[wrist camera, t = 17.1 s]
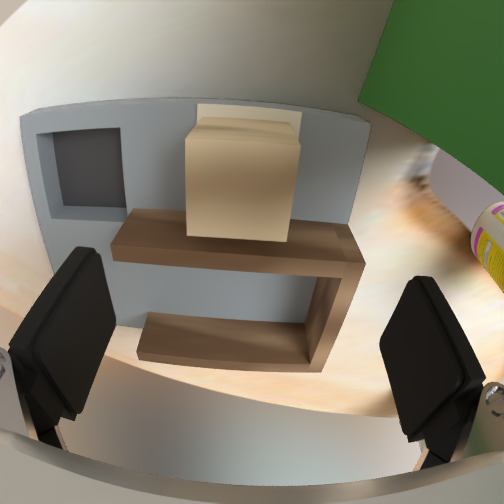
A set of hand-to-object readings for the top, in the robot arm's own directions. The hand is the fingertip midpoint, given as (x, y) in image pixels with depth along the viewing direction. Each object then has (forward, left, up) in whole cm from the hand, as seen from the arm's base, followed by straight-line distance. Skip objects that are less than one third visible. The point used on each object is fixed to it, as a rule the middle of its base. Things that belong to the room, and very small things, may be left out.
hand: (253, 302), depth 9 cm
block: (0, +1, -12) cm, 12 cm away
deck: (-6, +5, -15) cm, 17 cm away
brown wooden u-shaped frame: (-9, +1, -12) cm, 15 cm away
